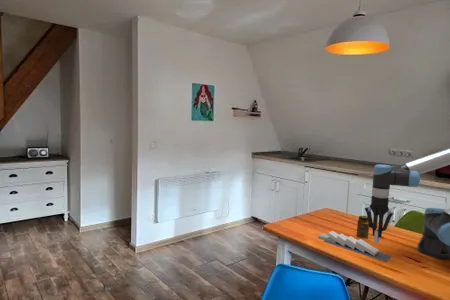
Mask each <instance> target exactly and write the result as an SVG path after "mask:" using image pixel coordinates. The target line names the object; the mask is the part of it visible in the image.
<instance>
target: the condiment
mask: <svg viewBox="0 0 450 300" xmlns="http://www.w3.org/2000/svg"><path fill="white" fill-rule="evenodd" d="M356 226H357V227H356V237H357V238H360V239H372V237H370V236H369V232H370V231H369V230H370V227H369V224H368V218H367V215H359V216H358V220H357V225H356Z"/></svg>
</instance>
